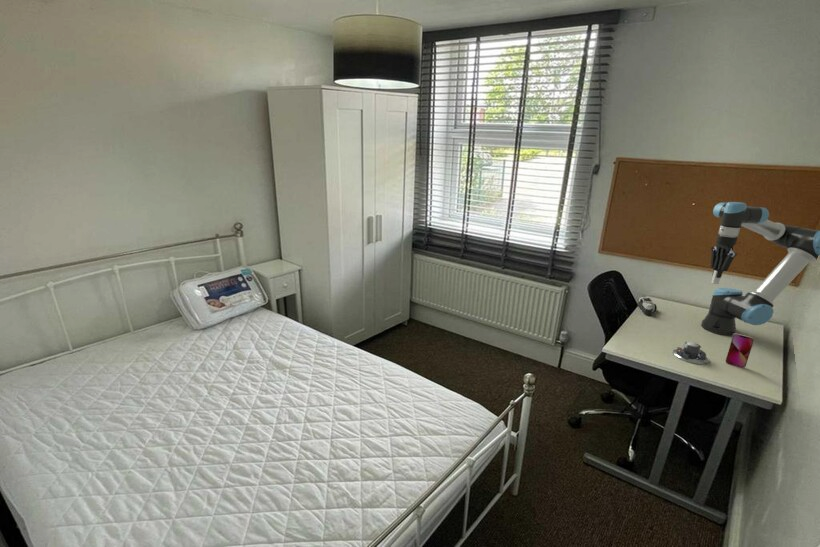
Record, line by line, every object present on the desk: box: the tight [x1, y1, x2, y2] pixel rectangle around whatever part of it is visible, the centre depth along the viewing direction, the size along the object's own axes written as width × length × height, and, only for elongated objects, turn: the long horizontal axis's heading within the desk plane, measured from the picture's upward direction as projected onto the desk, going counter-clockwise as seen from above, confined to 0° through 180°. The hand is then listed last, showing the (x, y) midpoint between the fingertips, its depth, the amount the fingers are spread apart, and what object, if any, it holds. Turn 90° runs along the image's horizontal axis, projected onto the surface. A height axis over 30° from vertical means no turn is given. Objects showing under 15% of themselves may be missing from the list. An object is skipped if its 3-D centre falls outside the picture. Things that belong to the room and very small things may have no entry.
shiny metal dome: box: [672, 346, 709, 365], centre depth 188 cm, size 14×14×3 cm
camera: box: [637, 296, 658, 317], centre depth 237 cm, size 16×9×10 cm, turn 167°
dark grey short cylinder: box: [682, 341, 702, 359], centre depth 187 cm, size 7×6×6 cm
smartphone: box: [725, 332, 755, 369], centre depth 180 cm, size 7×1×15 cm, turn 50°
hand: (714, 283), depth 193 cm, fingers closed
